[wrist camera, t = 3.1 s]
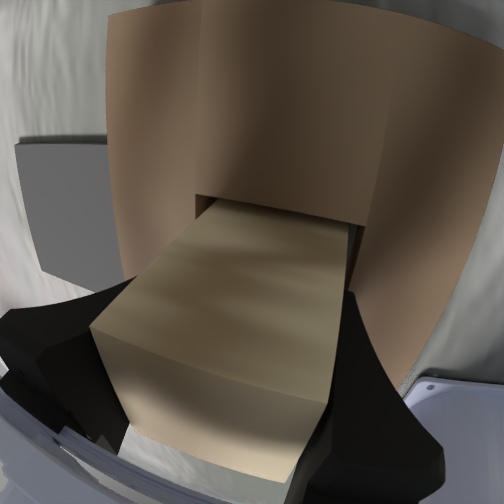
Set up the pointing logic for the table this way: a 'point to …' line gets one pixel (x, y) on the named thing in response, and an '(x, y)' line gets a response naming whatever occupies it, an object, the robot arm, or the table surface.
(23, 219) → the table surface
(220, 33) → the pocket plate
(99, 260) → the rubber mat
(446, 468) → the robot arm
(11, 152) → the table surface
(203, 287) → the maple block
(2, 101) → the table surface
